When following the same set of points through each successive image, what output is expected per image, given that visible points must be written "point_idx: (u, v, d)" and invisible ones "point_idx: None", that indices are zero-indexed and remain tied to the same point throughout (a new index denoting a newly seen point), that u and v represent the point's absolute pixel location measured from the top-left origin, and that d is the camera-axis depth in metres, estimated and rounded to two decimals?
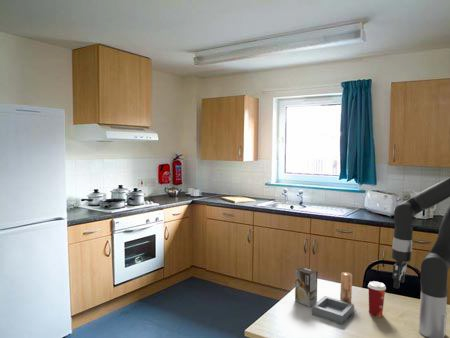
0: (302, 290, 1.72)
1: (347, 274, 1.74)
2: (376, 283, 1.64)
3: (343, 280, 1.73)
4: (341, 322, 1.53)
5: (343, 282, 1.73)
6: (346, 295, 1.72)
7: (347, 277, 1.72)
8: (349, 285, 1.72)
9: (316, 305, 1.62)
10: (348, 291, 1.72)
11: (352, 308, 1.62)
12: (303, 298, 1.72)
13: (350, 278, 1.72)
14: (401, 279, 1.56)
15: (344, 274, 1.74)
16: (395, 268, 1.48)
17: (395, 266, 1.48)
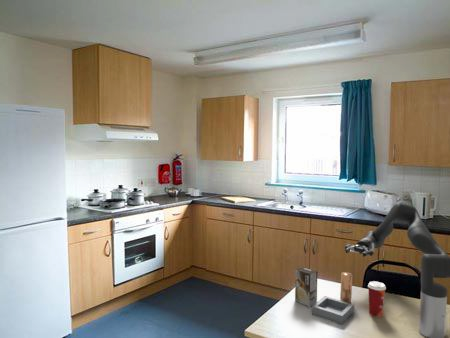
0: (302, 290, 1.72)
1: (347, 274, 1.74)
2: (376, 283, 1.64)
3: (343, 280, 1.73)
4: (341, 322, 1.53)
5: (343, 282, 1.73)
6: (346, 295, 1.72)
7: (347, 277, 1.72)
8: (349, 285, 1.72)
9: (316, 305, 1.62)
10: (348, 291, 1.72)
11: (352, 308, 1.62)
12: (303, 298, 1.72)
13: (350, 278, 1.72)
14: None
15: (344, 274, 1.74)
16: None
17: None
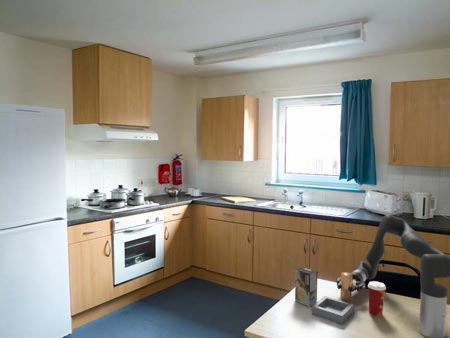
0: (302, 290, 1.72)
1: (347, 274, 1.74)
2: (376, 283, 1.64)
3: (343, 280, 1.73)
4: (341, 322, 1.53)
5: (343, 282, 1.73)
6: (346, 295, 1.72)
7: (347, 277, 1.72)
8: (349, 285, 1.72)
9: (316, 305, 1.62)
10: (348, 291, 1.72)
11: (352, 308, 1.62)
12: (303, 298, 1.72)
13: (350, 278, 1.72)
14: None
15: (344, 274, 1.74)
16: None
17: None
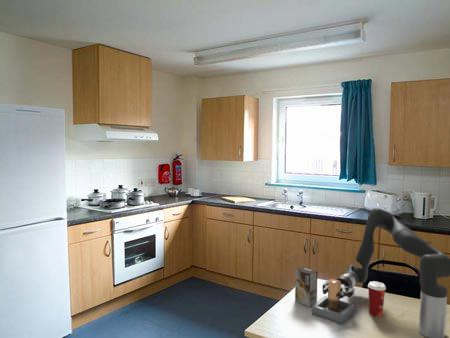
0: (302, 290, 1.72)
1: (335, 281, 1.62)
2: (376, 283, 1.64)
3: (330, 288, 1.61)
4: (341, 322, 1.53)
5: (330, 290, 1.61)
6: (334, 304, 1.60)
7: (335, 284, 1.60)
8: (337, 293, 1.60)
9: (316, 305, 1.62)
10: (336, 300, 1.60)
11: (352, 308, 1.62)
12: (303, 298, 1.72)
13: (338, 286, 1.60)
14: None
15: (332, 281, 1.62)
16: None
17: None
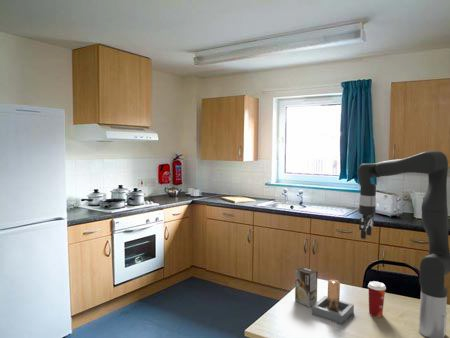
0: (302, 290, 1.72)
1: (334, 282, 1.61)
2: (376, 283, 1.64)
3: (330, 289, 1.60)
4: (341, 322, 1.53)
5: (330, 290, 1.60)
6: (333, 304, 1.60)
7: (334, 285, 1.59)
8: (336, 294, 1.60)
9: (316, 305, 1.62)
10: (336, 301, 1.60)
11: (352, 308, 1.62)
12: (303, 298, 1.72)
13: (337, 286, 1.59)
14: (369, 232, 1.78)
15: (331, 282, 1.61)
16: (361, 220, 1.69)
17: (361, 218, 1.69)
